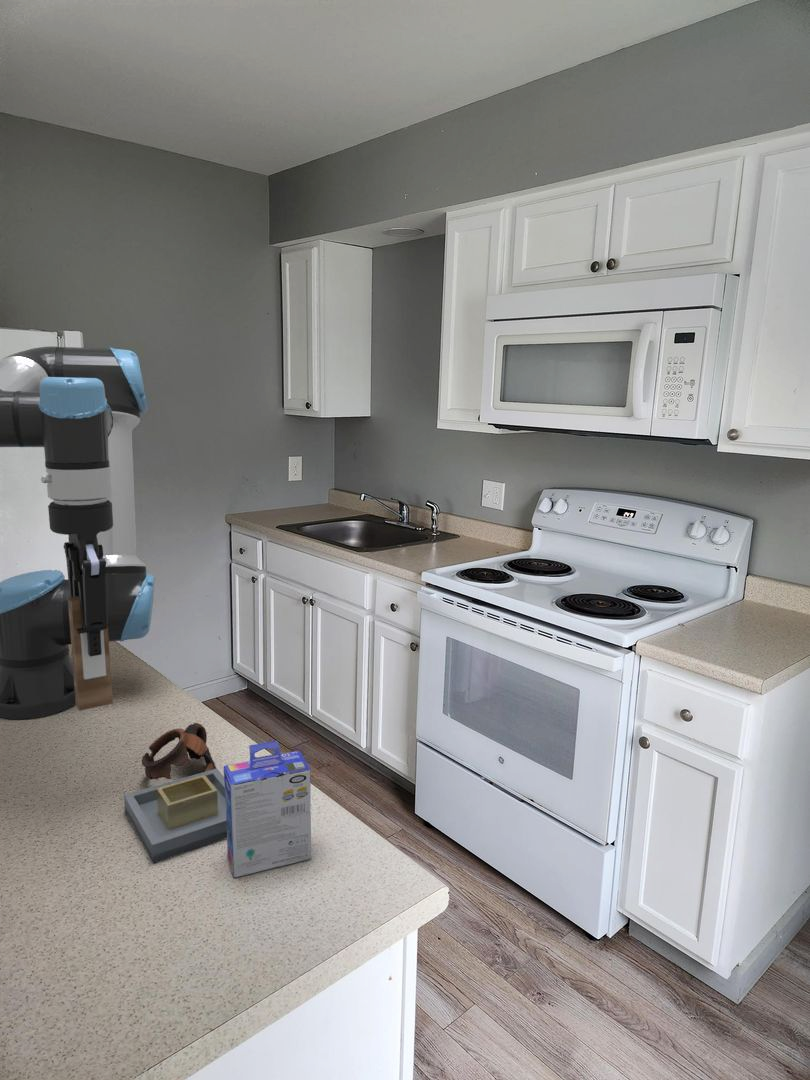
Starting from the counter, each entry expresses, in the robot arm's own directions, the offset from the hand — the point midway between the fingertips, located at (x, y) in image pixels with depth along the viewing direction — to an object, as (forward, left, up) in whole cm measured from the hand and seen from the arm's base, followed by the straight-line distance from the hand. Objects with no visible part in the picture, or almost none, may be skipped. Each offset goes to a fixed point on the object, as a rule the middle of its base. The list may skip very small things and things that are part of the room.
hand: (92, 672), depth 98 cm
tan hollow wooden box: (+12, +8, -18) cm, 23 cm away
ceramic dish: (+12, +8, -19) cm, 24 cm away
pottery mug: (0, +12, -19) cm, 22 cm away
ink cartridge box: (+25, +14, -19) cm, 34 cm away
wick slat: (0, 0, -5) cm, 5 cm away
